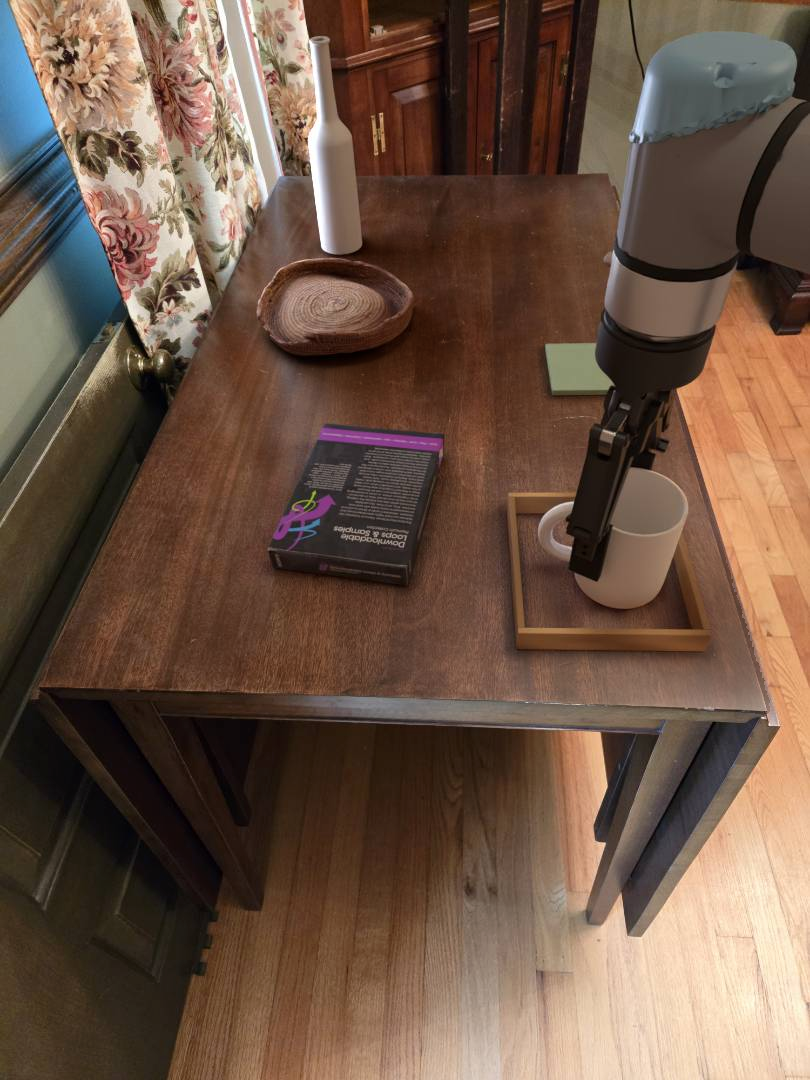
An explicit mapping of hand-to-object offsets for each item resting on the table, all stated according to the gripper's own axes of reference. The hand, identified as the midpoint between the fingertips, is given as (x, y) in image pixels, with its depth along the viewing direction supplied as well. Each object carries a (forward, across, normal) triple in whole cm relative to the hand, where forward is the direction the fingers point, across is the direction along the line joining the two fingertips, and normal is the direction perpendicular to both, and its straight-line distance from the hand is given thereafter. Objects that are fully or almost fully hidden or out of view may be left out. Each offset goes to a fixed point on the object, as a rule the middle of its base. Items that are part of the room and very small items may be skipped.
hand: (605, 536), depth 65 cm
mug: (+5, 0, 0) cm, 5 cm away
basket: (+5, -24, -48) cm, 54 cm away
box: (+5, +4, -24) cm, 25 cm away
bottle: (+6, -43, -61) cm, 75 cm away
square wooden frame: (+5, 0, 0) cm, 5 cm away
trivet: (+5, -30, -14) cm, 33 cm away
